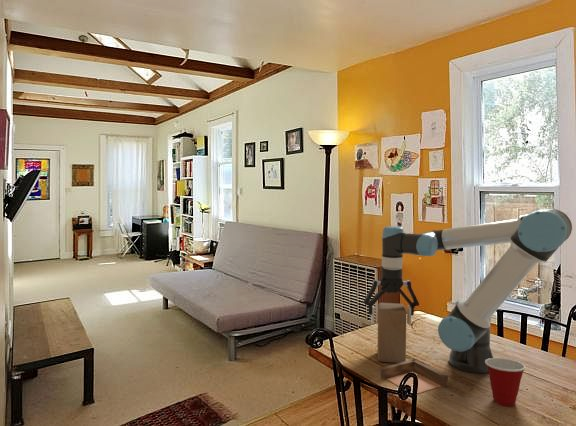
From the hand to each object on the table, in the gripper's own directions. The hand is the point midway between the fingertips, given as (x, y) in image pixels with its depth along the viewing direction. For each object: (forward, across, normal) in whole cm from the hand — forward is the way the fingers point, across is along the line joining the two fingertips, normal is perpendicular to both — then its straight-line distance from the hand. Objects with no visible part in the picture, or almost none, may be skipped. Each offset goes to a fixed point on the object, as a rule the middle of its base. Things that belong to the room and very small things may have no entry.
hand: (390, 323), depth 155 cm
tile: (+13, -3, +20) cm, 24 cm away
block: (+14, 0, 0) cm, 14 cm away
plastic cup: (+13, -27, +31) cm, 44 cm away
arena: (+13, -3, +20) cm, 24 cm away
